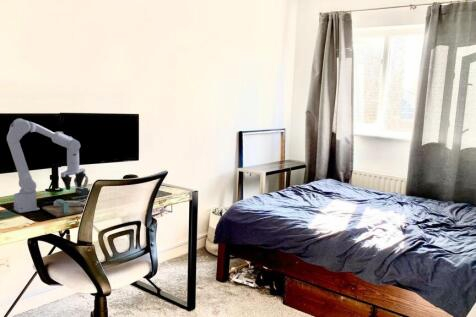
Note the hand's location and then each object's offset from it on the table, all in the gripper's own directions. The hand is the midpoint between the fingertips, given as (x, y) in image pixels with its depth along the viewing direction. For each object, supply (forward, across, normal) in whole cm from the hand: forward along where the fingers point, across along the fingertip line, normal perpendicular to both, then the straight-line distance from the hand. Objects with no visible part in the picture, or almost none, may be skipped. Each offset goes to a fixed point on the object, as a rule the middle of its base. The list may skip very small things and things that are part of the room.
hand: (73, 188), depth 214 cm
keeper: (+7, +14, +7) cm, 17 cm away
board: (+8, +8, +6) cm, 13 cm away
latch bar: (+7, +6, +4) cm, 10 cm away
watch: (+9, -18, -12) cm, 24 cm away
